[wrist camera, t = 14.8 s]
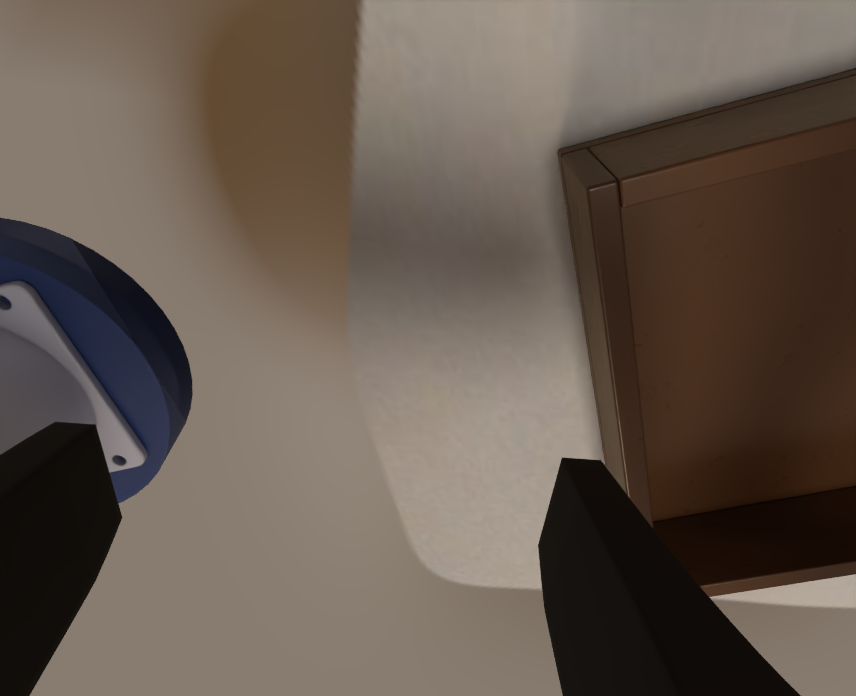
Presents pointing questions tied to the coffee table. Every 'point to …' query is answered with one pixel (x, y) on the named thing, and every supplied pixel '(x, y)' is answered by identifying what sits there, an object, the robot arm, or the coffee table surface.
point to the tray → (728, 329)
